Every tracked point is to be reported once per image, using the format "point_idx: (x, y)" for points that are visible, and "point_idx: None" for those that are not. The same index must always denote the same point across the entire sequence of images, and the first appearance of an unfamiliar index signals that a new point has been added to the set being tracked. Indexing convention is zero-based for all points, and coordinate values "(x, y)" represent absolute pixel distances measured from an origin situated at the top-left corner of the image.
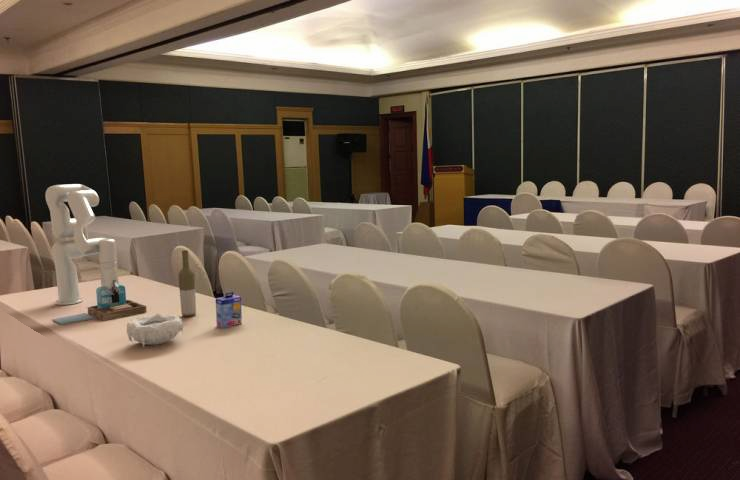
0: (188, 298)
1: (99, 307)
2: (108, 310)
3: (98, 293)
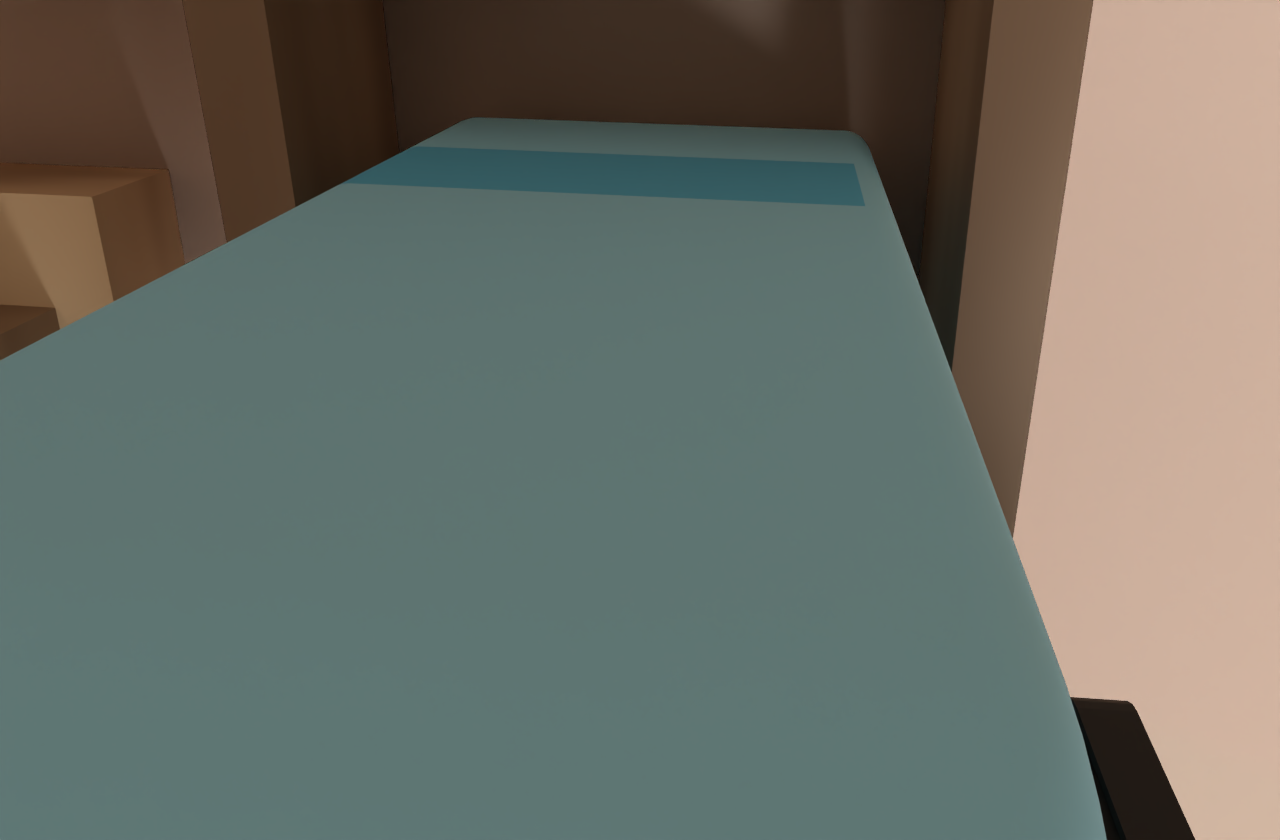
0: None
1: (565, 141)
2: None
3: (129, 443)
